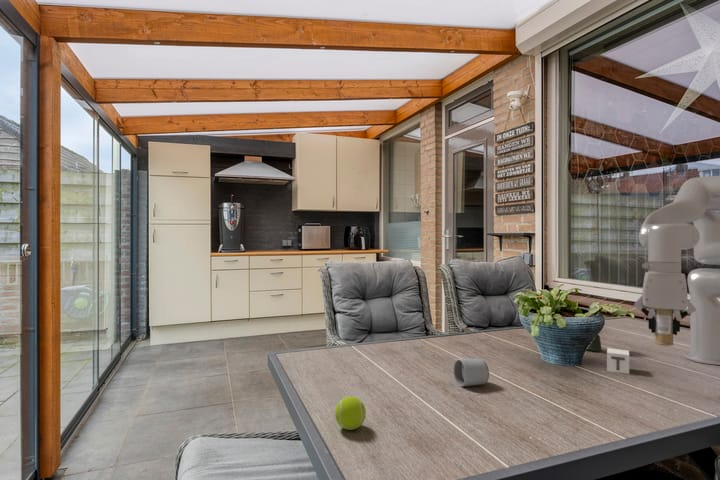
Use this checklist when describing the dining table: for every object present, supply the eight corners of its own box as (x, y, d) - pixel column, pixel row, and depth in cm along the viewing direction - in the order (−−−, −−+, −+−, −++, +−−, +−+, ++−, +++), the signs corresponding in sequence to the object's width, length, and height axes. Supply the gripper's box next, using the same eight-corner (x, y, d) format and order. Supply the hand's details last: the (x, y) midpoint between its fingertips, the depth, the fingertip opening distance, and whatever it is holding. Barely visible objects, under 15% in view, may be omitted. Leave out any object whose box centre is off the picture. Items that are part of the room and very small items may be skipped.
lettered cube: (607, 366, 142) (607, 348, 142) (628, 369, 139) (628, 350, 139) (606, 371, 136) (607, 352, 136) (629, 374, 133) (629, 355, 133)
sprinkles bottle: (676, 344, 120) (676, 296, 119) (669, 347, 117) (669, 298, 117) (657, 341, 123) (658, 294, 123) (650, 343, 121) (651, 296, 121)
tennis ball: (335, 435, 94) (334, 404, 94) (335, 421, 101) (335, 392, 101) (366, 435, 94) (366, 403, 94) (364, 421, 101) (364, 391, 101)
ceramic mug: (491, 387, 122) (490, 360, 122) (465, 390, 120) (465, 363, 120) (472, 376, 133) (471, 351, 133) (448, 378, 131) (447, 353, 131)
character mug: (592, 346, 166) (592, 312, 166) (610, 350, 160) (610, 315, 160) (573, 349, 162) (573, 315, 161) (590, 354, 155) (590, 318, 155)
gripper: (629, 267, 121) (628, 332, 121) (705, 270, 112) (704, 339, 113) (628, 266, 127) (628, 327, 128) (700, 268, 119) (699, 333, 119)
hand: (663, 332), depth 120 cm, fingers closed on sprinkles bottle, 4 cm apart
